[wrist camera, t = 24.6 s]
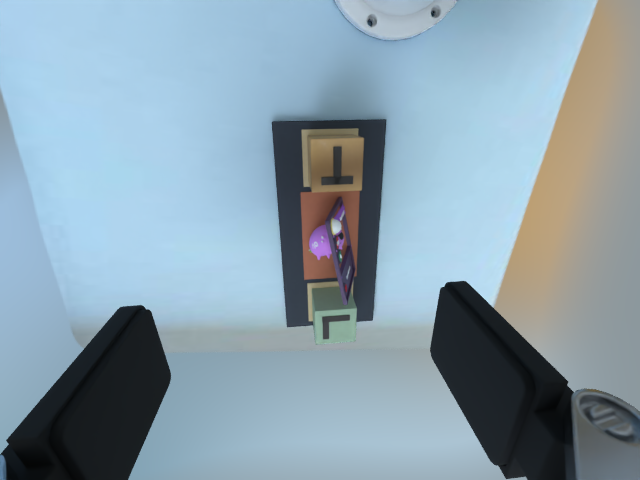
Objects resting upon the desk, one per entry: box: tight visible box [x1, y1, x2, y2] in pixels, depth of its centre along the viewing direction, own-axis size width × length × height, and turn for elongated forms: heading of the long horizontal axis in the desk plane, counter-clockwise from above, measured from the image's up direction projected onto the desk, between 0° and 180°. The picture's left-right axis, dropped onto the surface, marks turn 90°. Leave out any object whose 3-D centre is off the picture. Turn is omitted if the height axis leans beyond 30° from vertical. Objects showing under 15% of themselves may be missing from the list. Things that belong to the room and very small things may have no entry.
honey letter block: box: [307, 134, 364, 193], centre depth 27 cm, size 4×4×5 cm
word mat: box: [272, 119, 386, 327], centre depth 33 cm, size 24×11×1 cm, turn 1°
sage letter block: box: [312, 287, 357, 345], centre depth 34 cm, size 4×4×5 cm
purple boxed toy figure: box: [309, 197, 356, 305], centre depth 30 cm, size 7×5×9 cm
